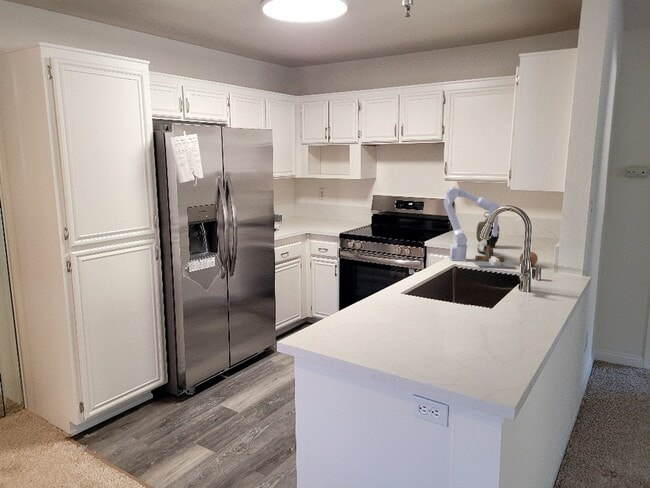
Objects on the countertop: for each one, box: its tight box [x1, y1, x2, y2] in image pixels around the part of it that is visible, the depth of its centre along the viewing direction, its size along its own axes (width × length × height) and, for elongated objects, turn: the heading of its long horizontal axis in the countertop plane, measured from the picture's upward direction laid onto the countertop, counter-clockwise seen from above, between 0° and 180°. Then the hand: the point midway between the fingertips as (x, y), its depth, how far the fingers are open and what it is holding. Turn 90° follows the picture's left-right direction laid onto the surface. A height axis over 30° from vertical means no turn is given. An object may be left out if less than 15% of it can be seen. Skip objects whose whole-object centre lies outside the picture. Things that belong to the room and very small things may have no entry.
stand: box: [473, 255, 517, 270], centre depth 270 cm, size 20×12×5 cm, turn 85°
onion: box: [519, 251, 539, 267], centre depth 272 cm, size 10×9×10 cm
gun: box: [476, 239, 494, 256], centre depth 299 cm, size 5×27×15 cm, turn 174°
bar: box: [474, 254, 505, 262], centre depth 282 cm, size 16×3×4 cm, turn 86°
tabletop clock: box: [475, 211, 500, 249], centre depth 330 cm, size 14×9×25 cm, turn 76°
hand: (490, 246), depth 280 cm, fingers open, 7 cm apart
